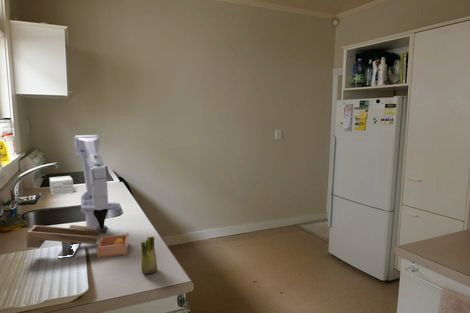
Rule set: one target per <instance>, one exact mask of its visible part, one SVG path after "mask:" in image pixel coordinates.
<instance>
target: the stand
mask: <svg viewBox="0 0 470 313" xmlns="http://www.w3.org/2000/svg"><path fill="white" fill-rule="evenodd" d="M73 244H80V245H81V244H82V243H72V242H61V251H60V252H59V254H58V256H67V255H73V253H74V251H73V249H71V248H72V246H71V245H73ZM58 256H57V257H58Z"/></svg>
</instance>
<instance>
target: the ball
mask: <svg viewBox="0 0 470 313" xmlns="http://www.w3.org/2000/svg"><path fill="white" fill-rule="evenodd" d="M124 243H125V242H124V240H123V239H121V238H119V239H116V240H115V241H114V245H119V244H124Z"/></svg>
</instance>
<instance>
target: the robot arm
mask: <svg viewBox="0 0 470 313" xmlns="http://www.w3.org/2000/svg"><path fill="white" fill-rule="evenodd" d="M73 141H74V150H75V154H76V156H78V157H80V159H81V160H82V161H81V162H82V167H83V175H84V183H85V188H86V191H85V192H84V193H83V194H81V195H80V196H81V197H80V211H81V213H84V214H85V226H87V227H97V226H100V228H104V227H107V224H105V222H106V217H107V214H108V212H109V211H111V210H117V211H118V210H120V209H121V204H120V203H109V192H108V180H109V169H108V165H107V164H105V163H104V161H103V158H102V156H101V155H100V154H99V153H98V152H99V149H100V136H99V135H98V134H87V135H86V134H85V135H83V134H81V135H78V134H77V135H75V136H74V138H73Z"/></svg>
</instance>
